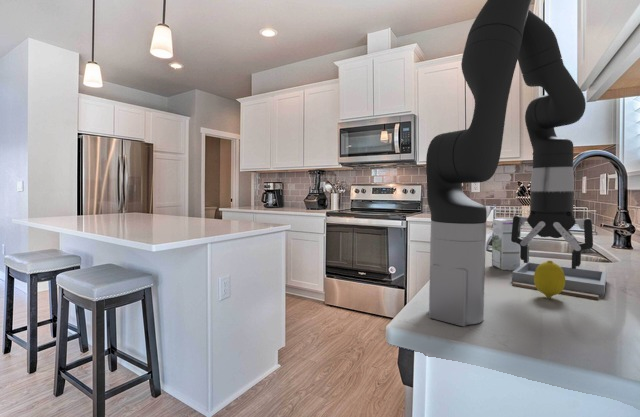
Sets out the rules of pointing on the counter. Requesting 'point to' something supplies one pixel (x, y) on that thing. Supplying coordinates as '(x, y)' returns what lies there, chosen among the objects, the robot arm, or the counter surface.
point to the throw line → (560, 292)
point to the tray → (567, 278)
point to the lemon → (549, 279)
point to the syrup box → (504, 245)
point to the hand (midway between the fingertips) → (549, 265)
